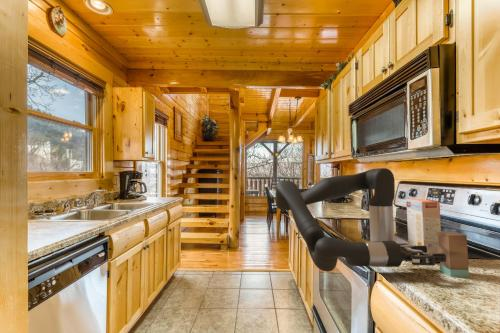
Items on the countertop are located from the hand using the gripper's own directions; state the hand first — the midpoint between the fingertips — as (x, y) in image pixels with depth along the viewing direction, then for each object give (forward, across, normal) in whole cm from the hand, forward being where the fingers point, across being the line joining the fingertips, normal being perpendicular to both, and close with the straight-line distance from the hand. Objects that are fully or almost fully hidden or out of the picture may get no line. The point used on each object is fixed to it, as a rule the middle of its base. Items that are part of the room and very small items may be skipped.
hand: (435, 253), depth 79 cm
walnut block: (+5, 0, +6) cm, 8 cm away
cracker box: (+7, -17, -7) cm, 19 cm away
